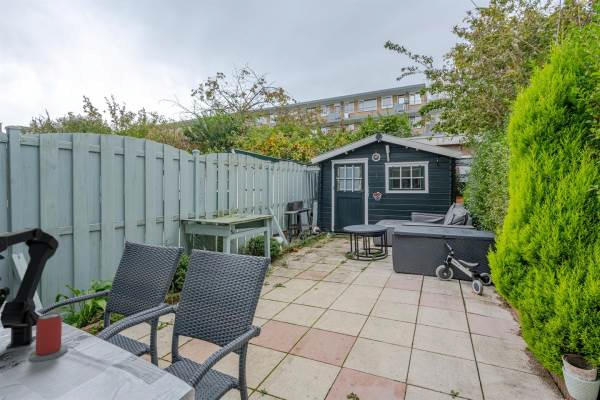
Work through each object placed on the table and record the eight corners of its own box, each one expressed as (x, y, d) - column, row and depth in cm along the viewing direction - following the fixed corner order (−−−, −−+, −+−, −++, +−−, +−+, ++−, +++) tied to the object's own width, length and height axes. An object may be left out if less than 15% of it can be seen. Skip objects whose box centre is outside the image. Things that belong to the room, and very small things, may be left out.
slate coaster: (34, 350, 101) (34, 348, 101) (70, 344, 106) (70, 342, 106) (23, 364, 92) (23, 362, 92) (63, 357, 97) (63, 355, 97)
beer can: (46, 357, 95) (47, 320, 95) (30, 355, 97) (31, 318, 97) (66, 348, 102) (67, 313, 102) (50, 345, 103) (51, 311, 103)
